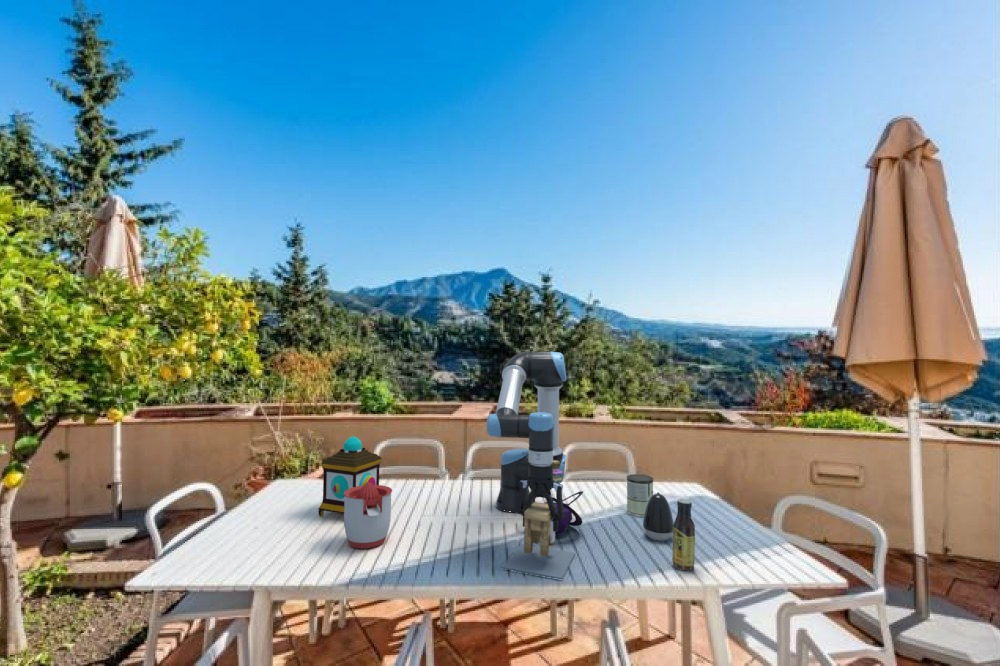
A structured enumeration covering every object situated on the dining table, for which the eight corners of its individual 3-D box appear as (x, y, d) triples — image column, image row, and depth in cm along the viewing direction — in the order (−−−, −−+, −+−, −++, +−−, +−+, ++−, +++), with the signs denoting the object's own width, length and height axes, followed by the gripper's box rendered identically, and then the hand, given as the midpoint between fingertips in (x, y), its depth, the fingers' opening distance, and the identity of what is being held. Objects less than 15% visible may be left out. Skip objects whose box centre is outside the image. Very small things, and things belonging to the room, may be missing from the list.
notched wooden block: (533, 540, 150) (534, 502, 151) (555, 543, 148) (555, 504, 148) (524, 552, 141) (524, 511, 141) (546, 556, 138) (547, 514, 139)
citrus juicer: (347, 558, 145) (349, 492, 146) (338, 538, 161) (340, 478, 162) (397, 549, 153) (399, 486, 153) (384, 530, 168) (385, 474, 169)
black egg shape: (673, 534, 167) (673, 491, 168) (674, 545, 158) (674, 499, 158) (643, 530, 171) (643, 488, 171) (642, 541, 161) (642, 496, 161)
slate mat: (502, 569, 139) (502, 566, 139) (521, 546, 156) (521, 544, 156) (562, 580, 132) (562, 577, 132) (575, 555, 149) (575, 552, 149)
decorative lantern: (312, 517, 180) (314, 438, 182) (347, 502, 199) (349, 430, 200) (355, 525, 173) (357, 442, 174) (387, 509, 191) (388, 434, 192)
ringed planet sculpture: (596, 531, 170) (597, 461, 171) (565, 549, 154) (565, 471, 155) (545, 516, 184) (545, 452, 185) (511, 532, 168) (512, 461, 169)
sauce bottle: (668, 562, 145) (668, 497, 145) (688, 562, 145) (688, 496, 146) (678, 572, 138) (678, 503, 139) (699, 572, 139) (698, 503, 139)
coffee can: (624, 508, 196) (624, 473, 196) (650, 509, 195) (650, 474, 195) (629, 516, 186) (629, 480, 186) (656, 517, 185) (655, 481, 185)
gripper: (506, 463, 145) (505, 539, 144) (570, 469, 138) (569, 549, 137) (514, 458, 152) (513, 530, 151) (575, 464, 145) (575, 540, 144)
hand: (540, 539), depth 144 cm, fingers closed on notched wooden block, 7 cm apart
